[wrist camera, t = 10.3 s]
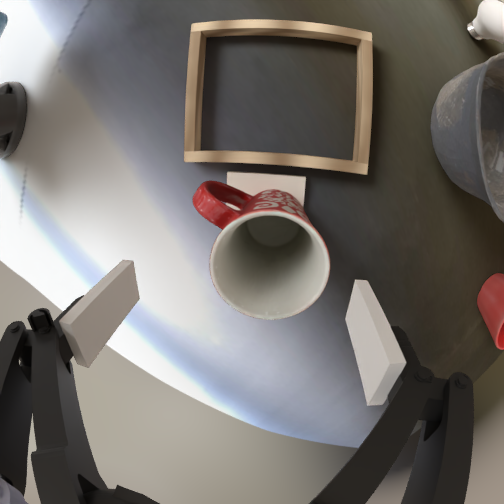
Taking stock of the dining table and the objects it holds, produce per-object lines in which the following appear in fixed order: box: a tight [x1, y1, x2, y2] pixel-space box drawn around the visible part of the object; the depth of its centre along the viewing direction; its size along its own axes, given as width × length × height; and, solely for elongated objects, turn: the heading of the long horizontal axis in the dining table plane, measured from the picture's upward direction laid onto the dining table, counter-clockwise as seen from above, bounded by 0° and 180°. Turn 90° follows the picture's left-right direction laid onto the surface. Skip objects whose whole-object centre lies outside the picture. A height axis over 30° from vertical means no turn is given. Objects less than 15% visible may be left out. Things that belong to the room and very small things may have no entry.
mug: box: [193, 181, 330, 320], centre depth 26 cm, size 13×9×14 cm
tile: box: [226, 171, 306, 210], centre depth 33 cm, size 9×9×1 cm
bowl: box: [431, 53, 504, 222], centre depth 19 cm, size 18×18×15 cm
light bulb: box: [467, 0, 504, 44], centre depth 13 cm, size 7×7×11 cm
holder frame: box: [184, 20, 373, 175], centre depth 26 cm, size 20×17×2 cm
